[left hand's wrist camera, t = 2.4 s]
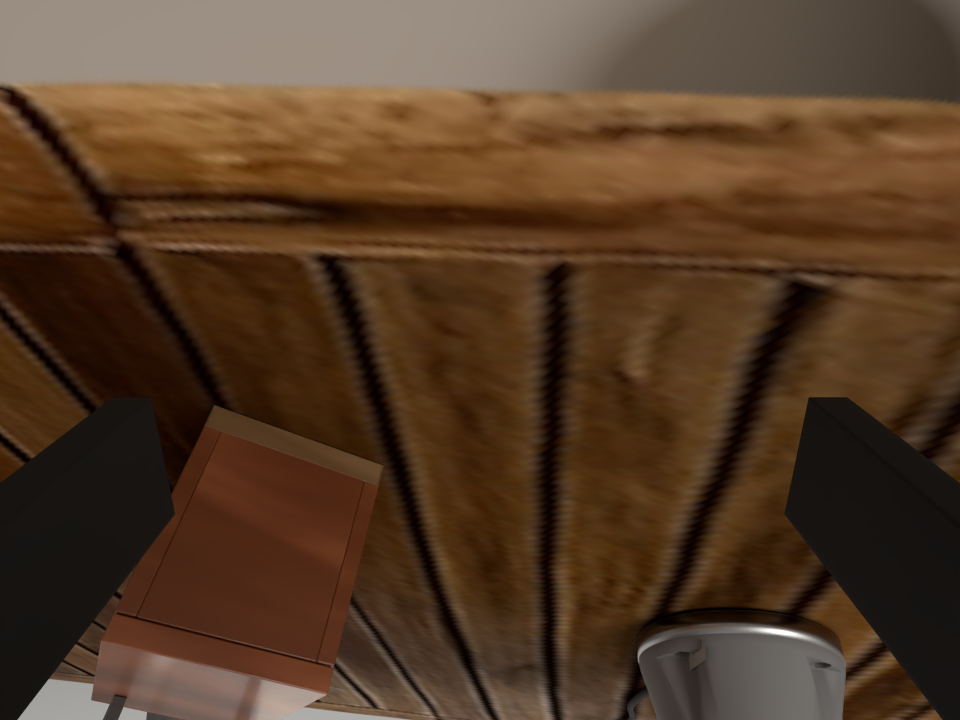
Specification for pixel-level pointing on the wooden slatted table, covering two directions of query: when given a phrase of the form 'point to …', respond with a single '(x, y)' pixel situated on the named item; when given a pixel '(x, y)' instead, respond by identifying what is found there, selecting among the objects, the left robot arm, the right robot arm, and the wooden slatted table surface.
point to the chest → (259, 541)
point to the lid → (199, 675)
